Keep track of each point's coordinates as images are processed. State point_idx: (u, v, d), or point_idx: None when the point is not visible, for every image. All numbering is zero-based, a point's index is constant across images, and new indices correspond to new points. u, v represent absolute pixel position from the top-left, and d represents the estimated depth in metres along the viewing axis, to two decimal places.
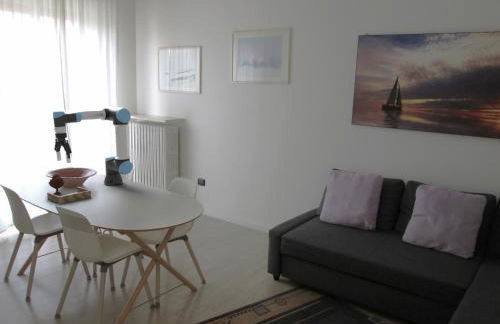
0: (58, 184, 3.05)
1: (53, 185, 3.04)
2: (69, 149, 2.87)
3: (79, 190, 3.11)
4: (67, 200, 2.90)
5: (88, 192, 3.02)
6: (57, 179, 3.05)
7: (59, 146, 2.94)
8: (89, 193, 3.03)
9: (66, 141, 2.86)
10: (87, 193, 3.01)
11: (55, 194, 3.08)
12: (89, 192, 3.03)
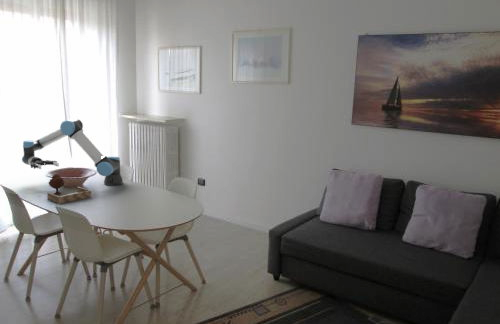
0: (58, 184, 3.05)
1: (53, 185, 3.04)
2: (30, 165, 3.10)
3: (79, 190, 3.11)
4: (67, 200, 2.90)
5: (88, 192, 3.02)
6: (57, 179, 3.05)
7: (47, 163, 3.21)
8: (89, 193, 3.03)
9: (30, 164, 3.15)
10: (87, 193, 3.01)
11: (55, 194, 3.08)
12: (89, 192, 3.03)
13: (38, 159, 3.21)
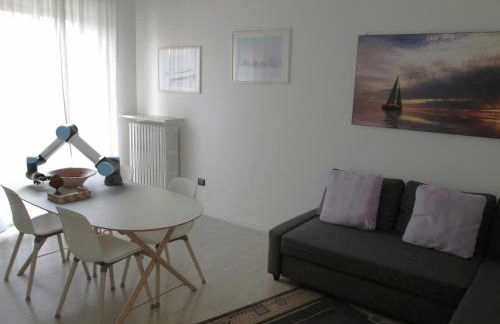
0: (58, 184, 3.05)
1: (53, 185, 3.04)
2: None
3: (79, 190, 3.11)
4: (67, 200, 2.90)
5: (88, 192, 3.02)
6: (57, 179, 3.05)
7: (50, 178, 3.21)
8: (89, 193, 3.03)
9: (33, 180, 3.16)
10: (87, 193, 3.01)
11: (55, 194, 3.08)
12: (89, 192, 3.03)
13: (41, 175, 3.22)
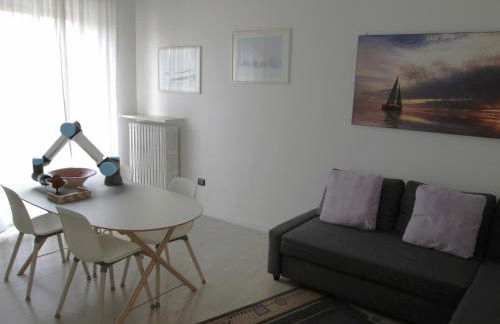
0: (58, 184, 3.05)
1: (53, 185, 3.04)
2: (41, 183, 3.05)
3: (79, 190, 3.11)
4: (67, 200, 2.90)
5: (88, 192, 3.02)
6: (57, 179, 3.05)
7: None
8: (89, 193, 3.03)
9: (40, 182, 3.10)
10: (87, 193, 3.01)
11: (55, 194, 3.08)
12: (89, 192, 3.03)
13: (47, 176, 3.17)
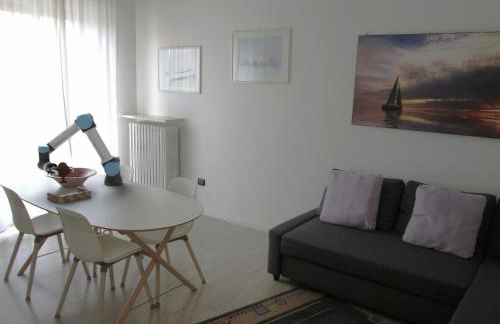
0: (64, 172, 2.94)
1: (59, 173, 2.93)
2: (47, 171, 2.95)
3: (79, 190, 3.11)
4: (67, 200, 2.90)
5: (88, 192, 3.02)
6: (63, 167, 2.95)
7: None
8: (89, 193, 3.03)
9: (45, 170, 3.00)
10: (87, 193, 3.01)
11: None
12: (89, 192, 3.03)
13: (53, 165, 3.07)
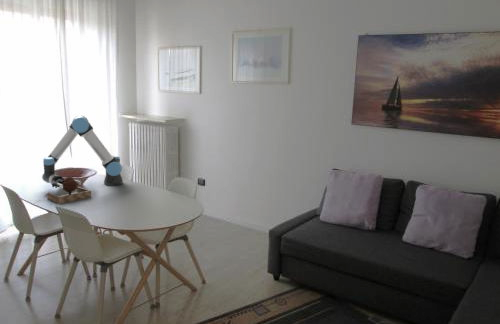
0: (71, 187, 2.94)
1: (66, 188, 2.93)
2: (52, 184, 2.94)
3: (79, 190, 3.11)
4: (67, 200, 2.90)
5: (88, 192, 3.02)
6: (70, 182, 2.94)
7: None
8: (89, 193, 3.03)
9: (51, 183, 2.99)
10: (87, 193, 3.01)
11: None
12: (89, 192, 3.03)
13: (59, 177, 3.06)
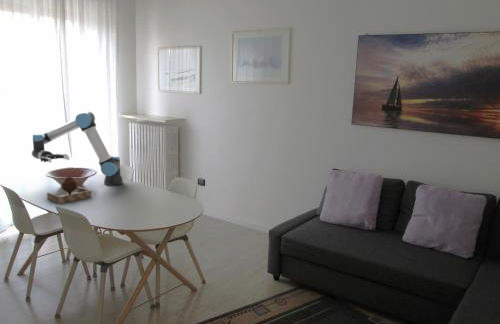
0: (71, 187, 2.94)
1: (66, 188, 2.93)
2: (40, 158, 2.99)
3: (79, 190, 3.11)
4: (67, 200, 2.90)
5: (88, 192, 3.02)
6: (70, 182, 2.94)
7: (57, 157, 3.10)
8: (89, 193, 3.03)
9: (40, 158, 3.04)
10: (87, 193, 3.01)
11: None
12: (89, 192, 3.03)
13: (48, 153, 3.11)
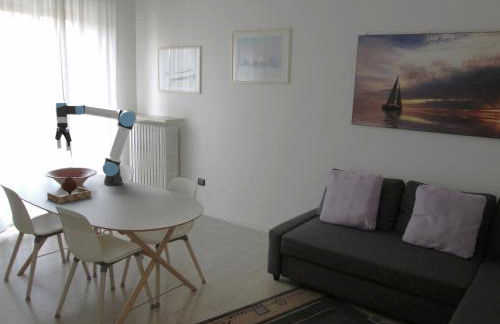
0: (71, 187, 2.94)
1: (66, 188, 2.93)
2: (69, 138, 3.12)
3: (79, 190, 3.11)
4: (67, 200, 2.90)
5: (88, 192, 3.02)
6: (70, 182, 2.94)
7: (60, 135, 3.19)
8: (89, 193, 3.03)
9: (67, 130, 3.12)
10: (87, 193, 3.01)
11: None
12: (89, 192, 3.03)
13: None
